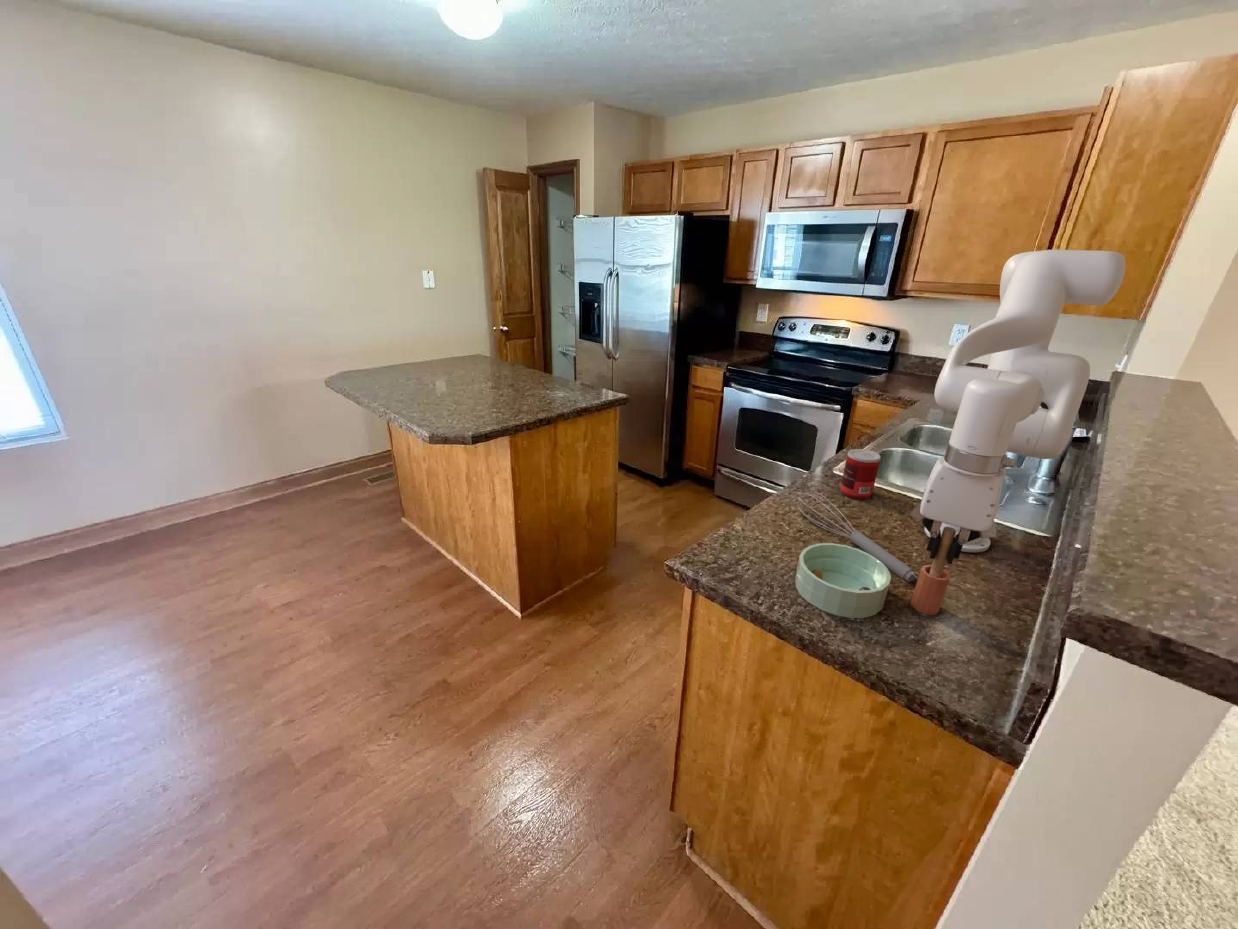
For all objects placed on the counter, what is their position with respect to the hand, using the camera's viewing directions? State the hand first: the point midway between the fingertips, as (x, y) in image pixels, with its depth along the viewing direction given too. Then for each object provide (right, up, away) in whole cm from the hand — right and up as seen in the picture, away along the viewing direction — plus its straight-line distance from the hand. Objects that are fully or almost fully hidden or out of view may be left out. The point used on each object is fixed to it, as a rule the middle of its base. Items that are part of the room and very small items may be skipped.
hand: (940, 556), depth 88 cm
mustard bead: (-17, -5, +10) cm, 21 cm away
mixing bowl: (-14, -8, +8) cm, 18 cm away
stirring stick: (0, -10, +4) cm, 11 cm away
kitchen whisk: (-4, -2, +24) cm, 25 cm away
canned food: (+7, +8, +47) cm, 48 cm away
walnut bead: (-10, -8, +5) cm, 14 cm away
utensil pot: (0, -10, +4) cm, 11 cm away
